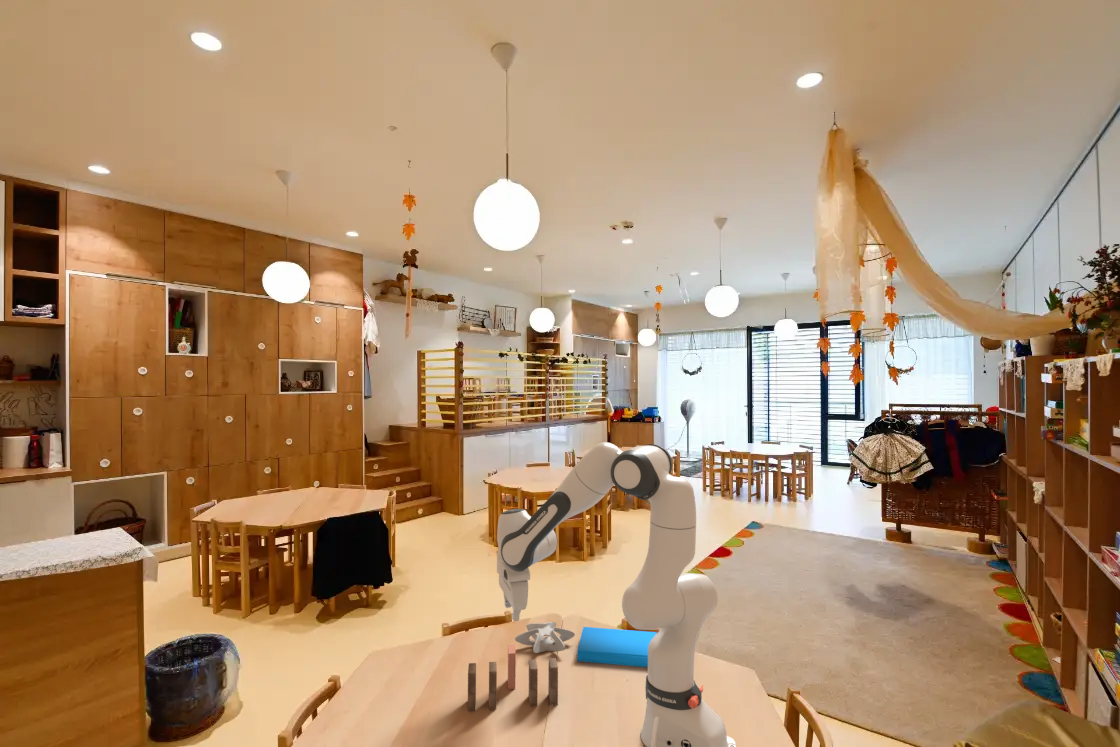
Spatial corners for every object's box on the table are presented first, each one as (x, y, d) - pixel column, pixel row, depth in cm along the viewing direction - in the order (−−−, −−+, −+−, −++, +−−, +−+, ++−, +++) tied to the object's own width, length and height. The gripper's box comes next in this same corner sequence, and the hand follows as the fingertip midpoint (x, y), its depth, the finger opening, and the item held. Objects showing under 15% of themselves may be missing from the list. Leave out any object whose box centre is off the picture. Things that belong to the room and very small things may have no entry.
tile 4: (535, 695, 150) (536, 659, 150) (537, 706, 145) (537, 668, 145) (528, 696, 150) (528, 659, 150) (529, 706, 145) (530, 669, 145)
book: (582, 626, 185) (656, 630, 182) (582, 639, 185) (656, 643, 181) (576, 651, 168) (658, 656, 165) (577, 665, 168) (658, 670, 165)
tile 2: (496, 698, 149) (496, 661, 149) (496, 709, 144) (496, 671, 144) (488, 698, 149) (489, 662, 149) (488, 709, 144) (489, 671, 144)
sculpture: (512, 636, 185) (512, 617, 186) (569, 632, 189) (569, 613, 189) (517, 662, 168) (517, 641, 168) (580, 656, 172) (580, 636, 172)
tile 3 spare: (514, 679, 158) (514, 644, 159) (515, 688, 153) (515, 653, 154) (507, 679, 158) (508, 645, 158) (508, 689, 153) (508, 653, 153)
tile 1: (475, 699, 148) (476, 662, 148) (475, 710, 143) (475, 672, 143) (468, 700, 148) (468, 663, 148) (467, 711, 143) (468, 673, 143)
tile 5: (555, 694, 151) (555, 657, 151) (557, 704, 146) (557, 667, 146) (548, 694, 151) (548, 658, 151) (550, 705, 146) (550, 667, 146)
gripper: (494, 555, 165) (493, 600, 165) (509, 578, 146) (509, 630, 146) (514, 553, 167) (513, 598, 167) (532, 576, 148) (531, 626, 148)
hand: (511, 613), depth 156 cm, fingers open, 8 cm apart
